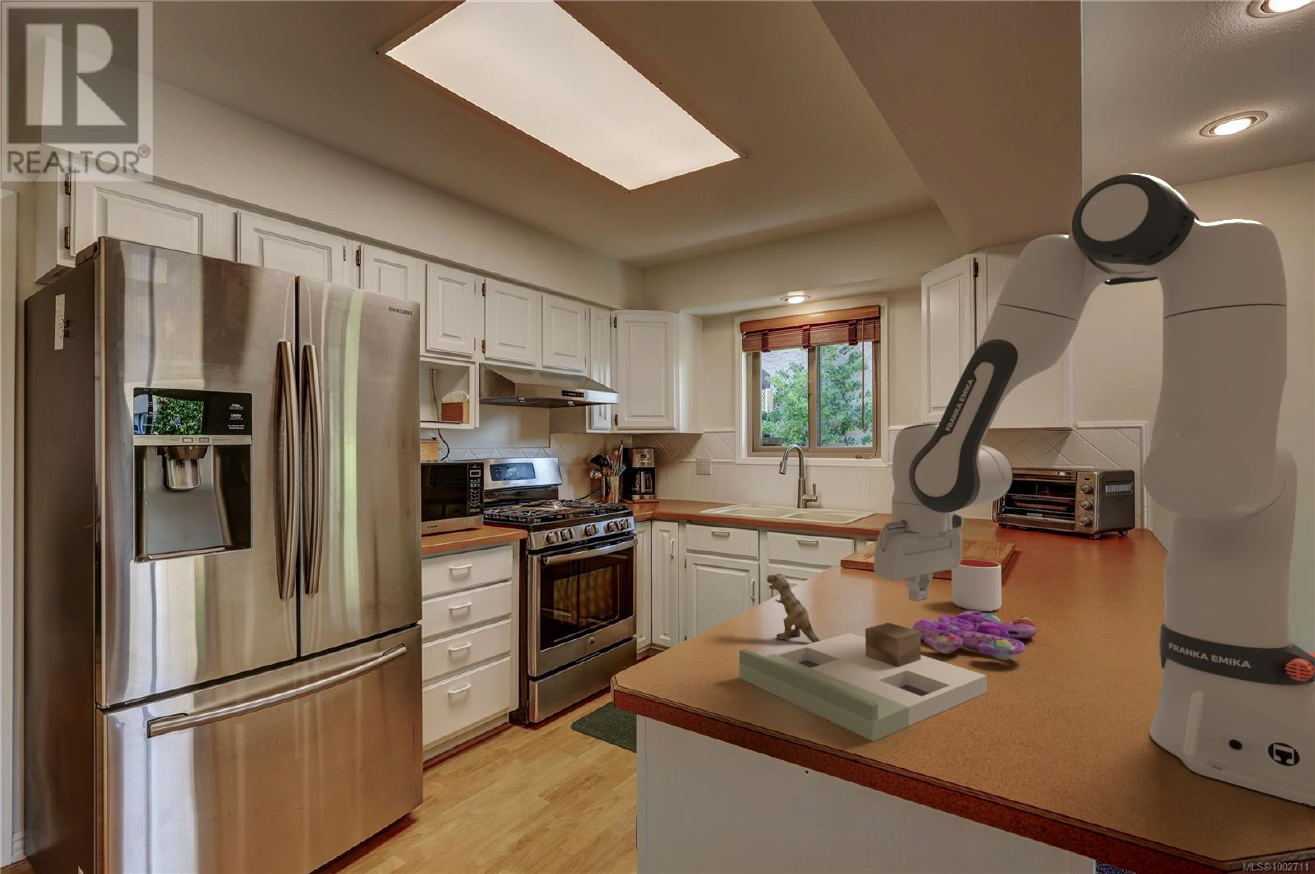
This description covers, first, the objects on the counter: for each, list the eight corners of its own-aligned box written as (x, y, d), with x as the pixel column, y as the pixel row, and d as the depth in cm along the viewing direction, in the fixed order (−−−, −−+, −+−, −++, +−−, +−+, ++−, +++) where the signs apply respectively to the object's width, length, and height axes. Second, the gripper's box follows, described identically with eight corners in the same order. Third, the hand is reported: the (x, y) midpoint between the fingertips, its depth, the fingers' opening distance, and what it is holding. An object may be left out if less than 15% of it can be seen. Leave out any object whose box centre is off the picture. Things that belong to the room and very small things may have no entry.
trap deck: (986, 692, 91) (986, 662, 91) (872, 741, 76) (872, 705, 76) (850, 646, 112) (849, 622, 112) (739, 678, 97) (739, 650, 97)
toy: (750, 601, 124) (777, 564, 121) (821, 661, 118) (851, 624, 115) (738, 612, 118) (767, 573, 115) (812, 676, 112) (845, 637, 109)
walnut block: (920, 659, 98) (920, 631, 98) (898, 667, 94) (897, 638, 94) (888, 649, 103) (888, 622, 103) (865, 656, 99) (865, 628, 99)
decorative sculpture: (890, 650, 112) (1008, 674, 97) (889, 623, 112) (1006, 643, 97) (957, 623, 130) (1065, 640, 115) (956, 601, 131) (1063, 614, 116)
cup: (1002, 605, 140) (1002, 561, 140) (1000, 615, 132) (999, 569, 132) (954, 599, 145) (954, 557, 146) (949, 609, 137) (949, 564, 137)
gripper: (898, 526, 95) (897, 614, 95) (969, 517, 106) (968, 595, 107) (864, 521, 100) (863, 604, 100) (935, 513, 112) (934, 587, 112)
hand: (918, 599), depth 104 cm, fingers closed
